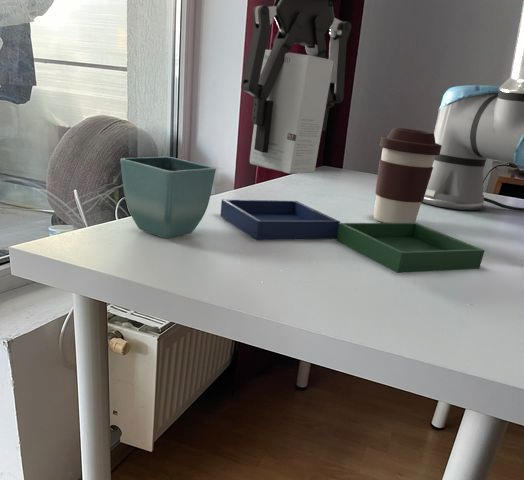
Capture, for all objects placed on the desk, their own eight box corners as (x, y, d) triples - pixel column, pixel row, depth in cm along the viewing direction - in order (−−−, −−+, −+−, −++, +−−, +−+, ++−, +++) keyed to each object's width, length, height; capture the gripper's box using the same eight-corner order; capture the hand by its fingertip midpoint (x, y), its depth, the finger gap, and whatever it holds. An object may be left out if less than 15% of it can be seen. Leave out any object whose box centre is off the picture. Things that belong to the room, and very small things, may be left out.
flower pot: (212, 235, 75) (218, 167, 71) (168, 246, 68) (171, 171, 64) (165, 221, 79) (167, 155, 75) (118, 229, 72) (118, 158, 68)
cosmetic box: (248, 164, 80) (257, 48, 74) (275, 162, 84) (286, 52, 78) (293, 175, 76) (307, 52, 69) (319, 173, 80) (335, 56, 73)
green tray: (412, 239, 86) (416, 222, 85) (479, 268, 75) (485, 250, 74) (336, 240, 80) (339, 222, 79) (397, 272, 69) (402, 252, 68)
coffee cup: (417, 219, 101) (438, 132, 95) (426, 231, 93) (450, 136, 86) (363, 211, 102) (380, 124, 95) (367, 223, 93) (386, 128, 86)
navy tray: (294, 216, 92) (296, 200, 90) (337, 239, 81) (340, 221, 80) (220, 216, 86) (221, 199, 85) (256, 240, 75) (258, 221, 74)
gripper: (359, -22, 76) (331, 152, 86) (224, -54, 67) (210, 144, 77) (393, -27, 70) (359, 160, 80) (249, -64, 61) (231, 152, 71)
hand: (286, 152), depth 79 cm, fingers closed on cosmetic box, 7 cm apart
